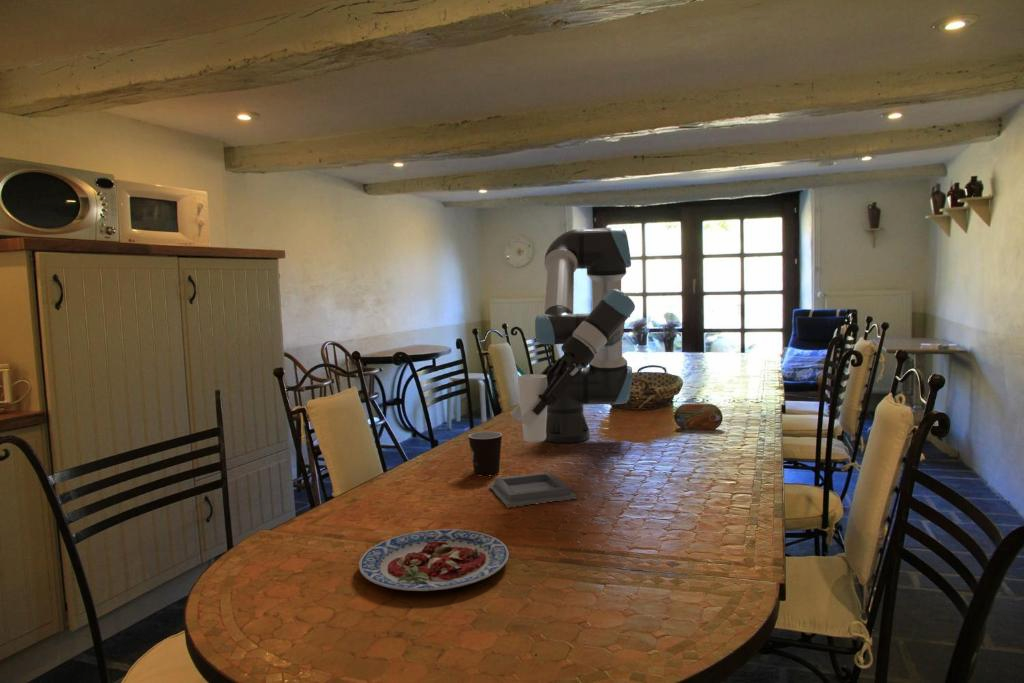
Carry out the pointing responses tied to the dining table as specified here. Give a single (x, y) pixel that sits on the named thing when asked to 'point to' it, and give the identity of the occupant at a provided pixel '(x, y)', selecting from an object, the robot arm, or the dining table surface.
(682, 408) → the tin
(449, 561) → the ceramic plate
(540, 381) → the drinking glass
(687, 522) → the dining table surface
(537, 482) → the plastic holder
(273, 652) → the dining table surface
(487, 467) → the coffee mug
